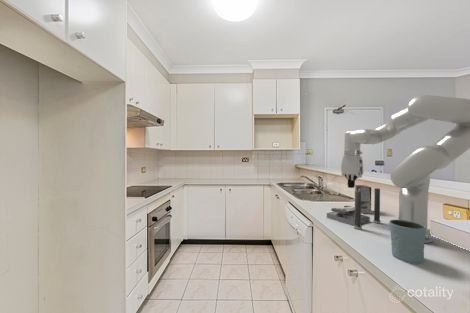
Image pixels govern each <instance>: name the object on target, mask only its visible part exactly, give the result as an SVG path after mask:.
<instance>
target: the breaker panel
mask: <svg viewBox="0 0 470 313" xmlns="http://www.w3.org/2000/svg"><path fill="white" fill-rule="evenodd" d="M344 207H352V206H350V205H344V206H343V208H344ZM337 208H338V207H333V208H332V207H331V212H326V218H328V219H330V220H333V221H337V222H339V223H344V224H346V225H350V226H353V227H354V225H355V210H353V211H345V210H341V209H337ZM370 221H371V217H370V216H368V215H363V214H361V225H363V224H366V223H369V222H370Z"/></svg>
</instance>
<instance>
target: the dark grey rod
mask: <svg viewBox="0 0 470 313" xmlns="http://www.w3.org/2000/svg"><path fill="white" fill-rule="evenodd" d="M354 207H355V225H354V226H353V229H355V230H359V231H361V230H362V228H363V226H362V224H361V215H362V213H361V192H360V191H355V190H354Z"/></svg>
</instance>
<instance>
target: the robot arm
mask: <svg viewBox="0 0 470 313" xmlns="http://www.w3.org/2000/svg"><path fill="white" fill-rule="evenodd" d="M428 120H434V121H440V122H445V123H452V124H456V125H455V126H454V127H453V128H452V129H451V130H450V131H448V132H446V133H445V134H444V135H443V136H442V137H441V138H439V139H438V140H437V141H436V142H434V143H433V144H431V145H424V146H421V147H419V148H417V149H416V150H414V151H413V152H412V153H410V154H409V155H407V157H406V158H404V159H403V160H402V161H401V162H400V163H398V164H397V165H396V166H394V168H393V169H392V171H391V172H390V180H391V182H392V183H393V185H394V186H396V187H398V188H399V193H398V195H399V196H398V220H407V221H413V222H417V223H420V224H423V225H424V226H426V233H425V242H424V244H430V243H432V242H433V241H437V242H441V239H442V238H441V239H439V238H436V237H433V236H431V234H430V232H431V229H429V228H428V214H429V213H428V212H429V210H428V207H429V206H428V204H429V190H430V183H431V176H430V175H431V174H432V173H434V172H435V171H437V170H438V171H439V170H442V169H445V168H447V167H448V166H449V165H450V164H451V163H452V162H454V161H455V160H457V159H458V158H459V157H461V156H462V155H463V154H465V153H466V152H467V151H468V150H469V149H470V99H468V98H463V97H452V96H451V97H450V96H442V95H441V96H439V95H430V94H422V95H421V94H420V95H418V96H415V97H413V98H412V99H411V100H410V101H409V103H408V104H407V107H405V108H402V109H401V110H398V111H397V112H395V113H392V115H391V116H390V119H389V121H388V122H386V123H385V124H383V125H381V126H380V127H377V128H375V129H369V128H363V129H362V128H361V129H358V130H357V129H356V130H347V131H345V133H344V151H343V156H342V160H341V166H340V170H341V176H343V177H345V178H346V181H347V188H350V189H353V188H354V189H355V185H356V181H357V179H360V178H362V177H363V175H364V162H363V156H362V155H363V151H361V144H362V145H376V144H380V143H383V142H384V141H387V140H389V139H391V138H394V137H395V136H397V135H398V134H401V133H402V132H403V131H405V130H407V129H409V128H412V127H414V126H417V125H419V124H421V123H424V122H427V121H428Z"/></svg>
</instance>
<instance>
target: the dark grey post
mask: <svg viewBox="0 0 470 313" xmlns="http://www.w3.org/2000/svg"><path fill="white" fill-rule="evenodd" d="M373 190H374V205H373V208H374V209H373V210H374V211H373V212H374V214H373V215H374V216H373V217H374V219H373V220H372V222H373V224H375V225H381V223H382V221H381V219H380V218H381V217H380V216H381V215H380V214H381V211H380V209H381V188H378V187H377V188H376V187H375V188H374V189H373Z"/></svg>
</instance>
